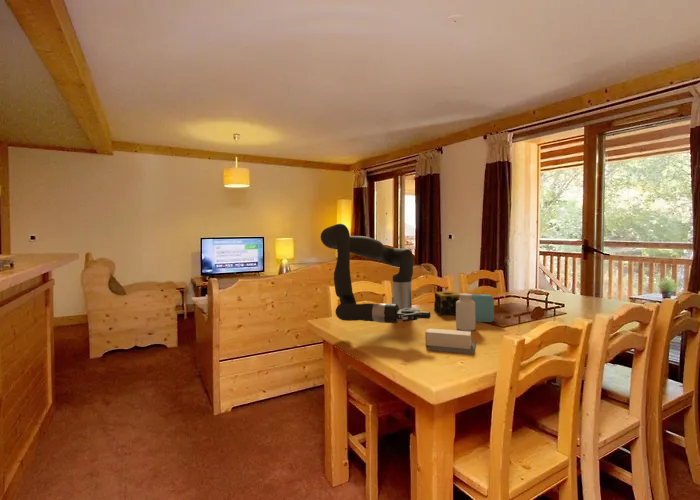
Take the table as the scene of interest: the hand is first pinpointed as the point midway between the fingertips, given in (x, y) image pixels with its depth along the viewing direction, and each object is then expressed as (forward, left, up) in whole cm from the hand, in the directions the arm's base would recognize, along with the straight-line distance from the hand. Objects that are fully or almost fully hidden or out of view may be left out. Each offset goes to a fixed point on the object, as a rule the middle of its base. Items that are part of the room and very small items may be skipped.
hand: (430, 315), depth 145 cm
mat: (+8, 0, -11) cm, 14 cm away
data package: (+16, +40, -11) cm, 45 cm away
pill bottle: (+11, +25, -11) cm, 30 cm away
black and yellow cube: (0, +52, -11) cm, 53 cm away
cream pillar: (-1, 0, -8) cm, 8 cm away
